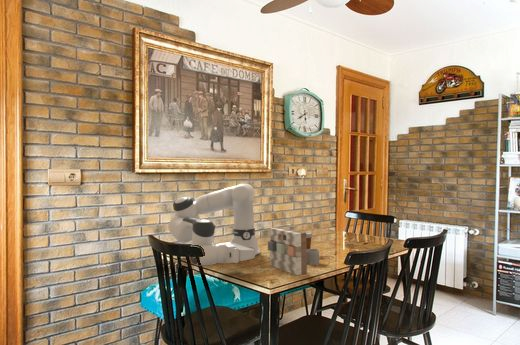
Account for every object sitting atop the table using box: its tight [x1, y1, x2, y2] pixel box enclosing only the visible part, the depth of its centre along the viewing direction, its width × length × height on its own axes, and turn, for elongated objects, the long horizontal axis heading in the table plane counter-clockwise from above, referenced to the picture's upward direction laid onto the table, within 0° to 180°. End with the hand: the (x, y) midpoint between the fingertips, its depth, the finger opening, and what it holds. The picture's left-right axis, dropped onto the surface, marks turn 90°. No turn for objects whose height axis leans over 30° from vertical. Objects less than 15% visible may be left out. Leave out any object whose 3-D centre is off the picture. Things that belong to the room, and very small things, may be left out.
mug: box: [307, 248, 320, 266], centre depth 194 cm, size 10×7×7 cm
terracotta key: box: [288, 245, 295, 256], centre depth 176 cm, size 4×3×4 cm
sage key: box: [276, 243, 286, 254], centre depth 182 cm, size 4×3×4 cm
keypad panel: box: [269, 227, 308, 276], centre depth 183 cm, size 22×6×18 cm, turn 30°
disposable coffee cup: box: [304, 231, 313, 249], centre depth 214 cm, size 10×10×12 cm
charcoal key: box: [267, 240, 277, 252], centre depth 188 cm, size 4×3×4 cm
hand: (253, 249), depth 183 cm, fingers closed
